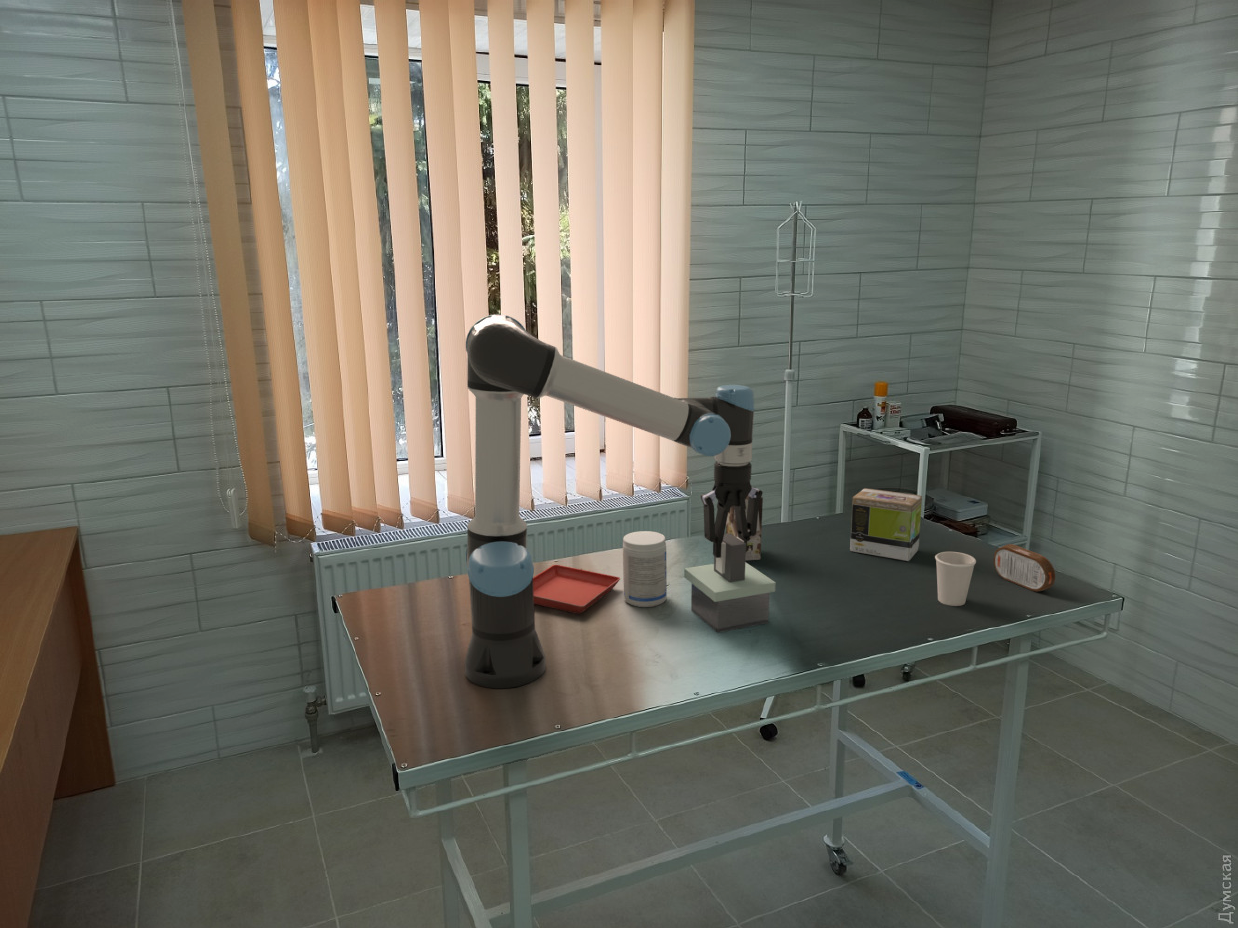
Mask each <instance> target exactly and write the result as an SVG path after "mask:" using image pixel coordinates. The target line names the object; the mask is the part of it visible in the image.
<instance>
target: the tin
mask: <svg viewBox="0 0 1238 928" xmlns="http://www.w3.org/2000/svg"><path fill="white" fill-rule="evenodd" d="M993 566H994V570H995V571H996V573H997V574H998V575H999V576H1000V577H1001V579H1004V580H1005V581H1008V582H1010V583H1013V584H1014V585H1015V584H1016V585H1018V586H1020V587H1022V588H1024V589H1027V590H1029V591H1031V592H1042V591H1045V590H1048V589H1051V588H1052V587H1053V586H1054V584H1055V582H1056V581H1055V580H1056V571H1055V569H1054V566H1053V563H1051V561H1050V560H1049V559H1048V558H1047V557H1045V556H1044V555H1042V554H1039V553H1038V552H1034V551H1031V550H1029V549H1027V548H1024V547H1021V546H1018V545H1016V544H1014V543H1008V544H1005V545H1003V546H1001V547H999V548H997V549H996V550H995V552H994V553H993Z"/></svg>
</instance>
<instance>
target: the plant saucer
mask: <svg viewBox="0 0 1238 928" xmlns="http://www.w3.org/2000/svg"><path fill="white" fill-rule="evenodd" d="M620 580H621V578H620V577H619V576H615V575H611V574H604V573H601V572H597V571H596V572H595V571H590V570H587V569H586V570H585V569H580V568H577V567H571V566H566V565H560V564H553V565H551V566H549V567H548V568H546V569H545V570H542V571H541V572H540V573H538V574H535V576H533V590H534V605H538V606H543V607H546V608H551V609H556V610H560V611H564V612H569V613H573V614H582V613H583V612H585V611H586V610H587V609H589V608H590V607H591V606H592V605H594V604H595V603H597V602H598V601H599V600H600V599H601V598H603V597H605V595H607V594H608V593H609V592H611V591H612V590H613V589H614V588H615V587H616V586H617V585H618V582H620Z"/></svg>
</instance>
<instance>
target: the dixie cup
mask: <svg viewBox="0 0 1238 928" xmlns="http://www.w3.org/2000/svg"><path fill="white" fill-rule="evenodd" d="M934 559H935V561H936V562H935V563H936V581H937V583H936V585H937V587H936V588H937V601H939V602H940V603H941V604H943V605H946V606H951V607H958V606H959V607H960V606H963V605H965V604H966V600H967V596H968V593H969V588H970V584H971V579H972V576H973V572H974V567H975V565H976V563H977V560H976V558H975V557H974V556H972V555H970V554H967V553H964V552H957V551H942V552H939V553H937V554H935V556H934Z"/></svg>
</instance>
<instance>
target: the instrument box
mask: <svg viewBox="0 0 1238 928" xmlns="http://www.w3.org/2000/svg"><path fill="white" fill-rule="evenodd" d="M690 593H691V594H690V595H691V599H690V600H691V601H690V602H691V603H690V606H691V607H690V609H691V611H692V613H694V614H695V615H696V616H698V618H700V619H701V620H702V621H703V622H704V623H705V624H707V626H709V627H710V628H711V629H712V630H714V631H715V632H716V633H717V634H719V633H725V632H728V631H734V630H739V629H744V628H749V627H753V626H754V627H755V626H759V625H760V626H761V625H764V624H769V620H770V619H769V617H770V616H769V615H770V613H769V612H770V610H769V609H770V593H771V592H769V593H764V594H758V595H752V596H746V597H740V598H735V599H729V600H723V601H717V602H714V601H713V600H712V599H711V598H709V597H708V596H707V595H706V594H705V593H703V592H702V591H701V590H700V589H698V588H697V587H696V586H695V585H693V584H692V583H691V592H690Z"/></svg>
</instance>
